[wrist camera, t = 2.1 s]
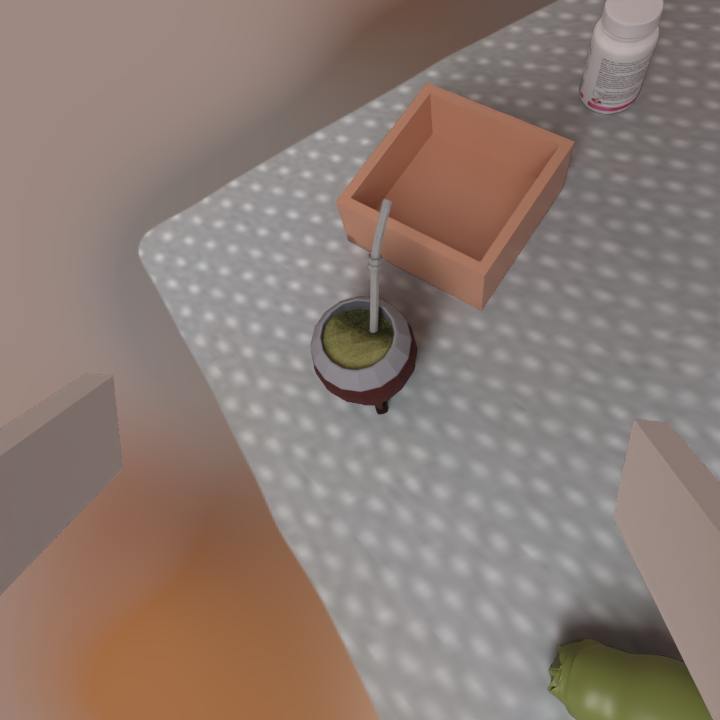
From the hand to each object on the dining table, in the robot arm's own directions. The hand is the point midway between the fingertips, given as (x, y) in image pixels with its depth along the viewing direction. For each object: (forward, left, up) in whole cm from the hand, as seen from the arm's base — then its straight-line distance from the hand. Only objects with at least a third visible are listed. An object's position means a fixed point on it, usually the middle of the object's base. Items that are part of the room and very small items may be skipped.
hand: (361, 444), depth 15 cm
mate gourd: (-8, -9, -28) cm, 30 cm away
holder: (-22, -11, -27) cm, 37 cm away
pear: (+1, +15, -28) cm, 32 cm away
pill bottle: (-39, -6, -28) cm, 48 cm away
